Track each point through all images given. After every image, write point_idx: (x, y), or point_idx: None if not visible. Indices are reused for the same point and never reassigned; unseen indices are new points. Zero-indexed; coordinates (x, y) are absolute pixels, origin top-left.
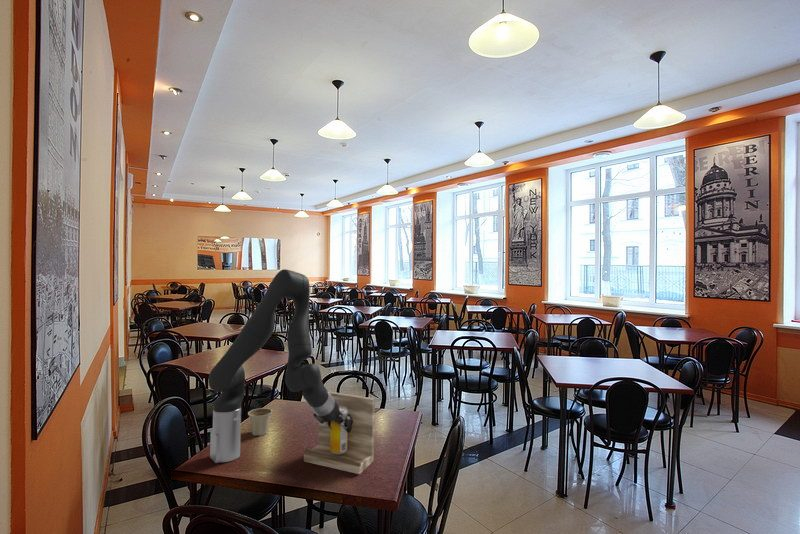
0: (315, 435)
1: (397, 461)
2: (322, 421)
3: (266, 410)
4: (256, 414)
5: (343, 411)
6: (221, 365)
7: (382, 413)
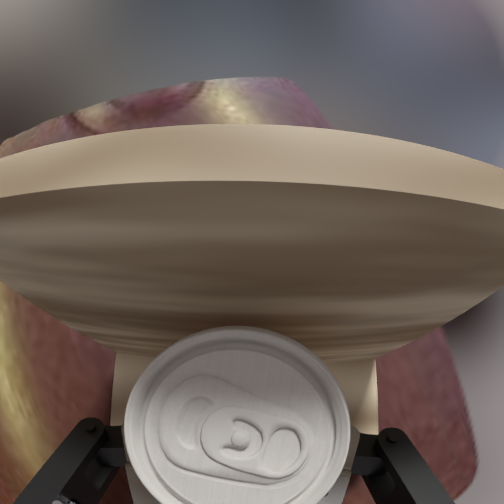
0: None
1: None
2: (113, 470)
3: None
4: None
5: (333, 479)
6: None
7: (219, 91)
